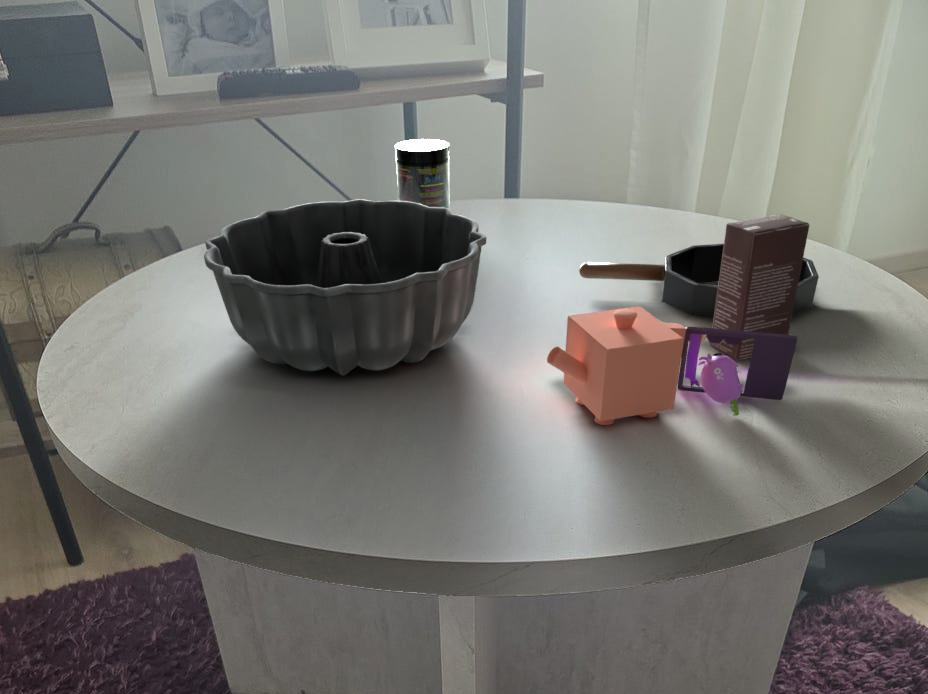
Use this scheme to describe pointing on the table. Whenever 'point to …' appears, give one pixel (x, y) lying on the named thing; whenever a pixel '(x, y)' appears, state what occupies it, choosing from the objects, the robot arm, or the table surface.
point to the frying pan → (694, 278)
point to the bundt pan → (347, 281)
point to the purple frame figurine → (721, 371)
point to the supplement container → (423, 172)
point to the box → (758, 278)
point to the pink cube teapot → (621, 362)
